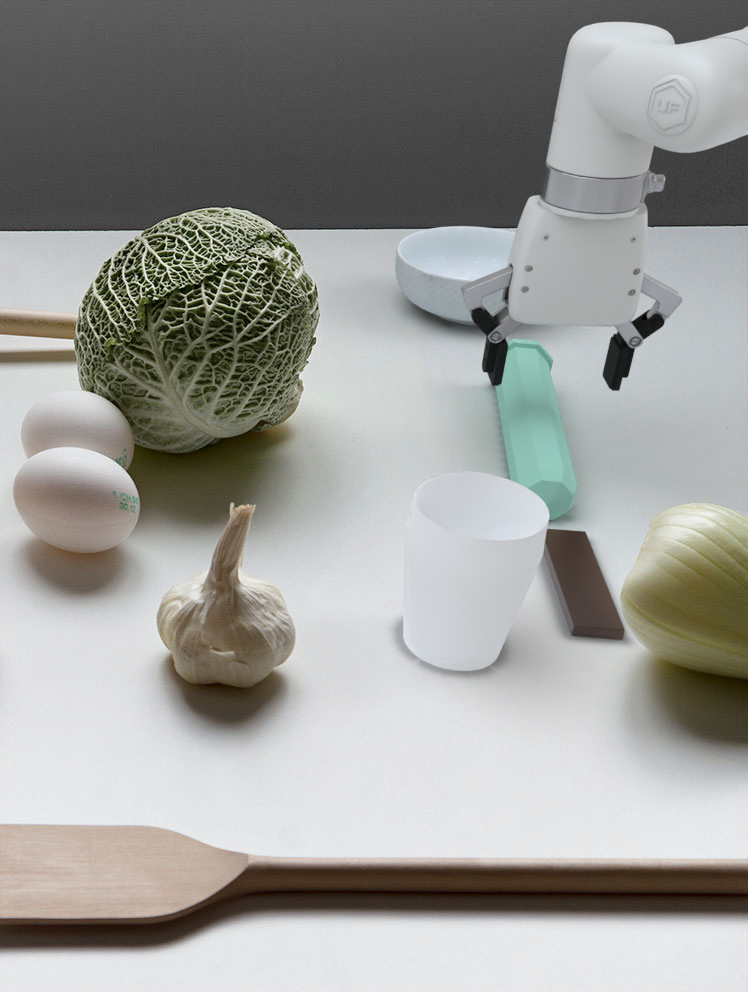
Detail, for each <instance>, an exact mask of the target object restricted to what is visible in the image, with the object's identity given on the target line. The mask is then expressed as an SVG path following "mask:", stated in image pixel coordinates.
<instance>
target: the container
mask: <svg viewBox="0 0 748 992" xmlns="http://www.w3.org/2000/svg"><path fill="white" fill-rule="evenodd" d="M507 343H508V351H507V357H506V362H505V367H504V373H503V378H502V383H501V385H500V384H499V386H494V387H495V394H496V399H497V405H498V413H499V418H500V424H501V431H502V438H503V444H504V450H505V454H506V462H507V469H508V475H509V480H511V481H514V482H516V483H518V484H520V485H523V486H524V487H526V488H528V489H530V490H531V491H533V492H534V493H535V494H537V495H538V496H539V497H540V498H541V499H542V500H543V501H544V503H545V504H546V506H547V508H548V510H549V521H553V520H555V519H558V518H559V517H561V516H562V515H564V514H566V513H568V512H570V511H571V509H572V508H573V506H574V502H575V499H576V495H577V492H578V489H579V485H578V481H577V477H576V473H575V469H574V464H573V461H572V456H571V452H570V448H569V444H568V440H567V434H566V430H565V427H564V422H563V419H562V415H561V410H560V406H559V402H558V398H557V394H556V390H555V386H554V380H553V377H552V373H551V372H552V367H553V364H554V358H553V356H552V355H551V354H550V353H549V352H548V350H546V348H545V347H544V346H543V345H542V343H540V341H539V340H533V339H521V338H512V339H510V340H508V341H507Z"/></svg>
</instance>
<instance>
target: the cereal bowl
mask: <svg viewBox="0 0 748 992" xmlns="http://www.w3.org/2000/svg"><path fill="white" fill-rule="evenodd" d="M515 233H516V231H509V230H505V229H499V228H494V227H485V226H468V225H457V226H456V225H455V226H454V225H453V226H440V227H434V228H433V227H432V228H427V229H422V230H419V231H416V232H413V233H412V234H409V235H407V236H405V237H404V238H403V239H401V241H399V243H398V245H397V247H396V250H395V258H394V259H395V260H394V269H395V278H396V282H397V284H398V286H399V289H400V290H401V292H402V293H403V294H404V297H405V298H407V299H408V300H409V301H410V302H411V303H412V304H414V305H416V306H417V307H418V308H420V309H422V310H424V311H426V312H429V313H430V314H432V315H435V316H437V317H438V318H441V319H442V320H444V321H445V320H446V321H448V322H451V323H455V324H460V325H466V326H477V325H476V324H475V323H474V322H473V320H472V318H471V315H470V313H469V310H468V308H467V305H466V303H465V300H464V298H463V295H462V293H461V287H462V286H463V285H465V284H467V283H470V282H472V281H475V280H477V279H479V278H482V277H484V276H487V275H489V274H492V273H494V272H497V271H499V270H501V269H504V268H506V266H507V262H508V258H509V255H510V251H511V247H512V244H513V240H514V236H515ZM482 304H483V306H484V308H485V309H486V310H487V311H488V312H489V313H490V314H491V315H492V314H494V313H495V312H496V311H497V310H498V309H499V308H501V307H502V306H503V305H504V304H505V302H502V298H501V290H500V291H497V292H495V293H492V294H490V295H487V296H485V297H484V298H483V299H482Z"/></svg>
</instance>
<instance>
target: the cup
mask: <svg viewBox="0 0 748 992" xmlns="http://www.w3.org/2000/svg"><path fill="white" fill-rule="evenodd" d="M549 521H550V520H549V510H548V508H547V506H546V504H545V503H544V501H543V500H542V499H541V498H540V497H539V496H538V495H537V494H535V493H534V492H533V491H531V490H530V489H528V488H526V487H524V486H523V485H520V484H518V483H516V482H514V481H511V480H510V479H508V478H505V477H502V476H498V475H494V474H490V473H485V472H476V471H451V472H444V473H439V474H436V475H433V476H430V477H428V478H426V479H424V480H423V481H422V482H420V483H419V484H418V486H417V487H416V489H415V491H414V494H413V499H412V503H411V507H410V509H409V515H408V518H407V521H406V524H405V528H404V544H403V545H404V547H403V549H404V550H403V553H404V554H403V611H402V612H403V614H402V615H403V617H402V619H403V620H402V621H403V622H402V637H403V641H404V643H405V645H406V647H407V648H408V650H410V652H411V653H412V654H413V655H414V656H416V657H417V658H418V659H420V660H422V661H424V662H425V663H427V664H430V665H431V666H434V667H436V668H440V669H444V670H448V671H454V672H474V671H478V670H482V669H485V668H487V667H489V666H491V665H492V664H494V663H495V662H496V661H497V659H498V657H499V655H500V654H501V651H502V649H503V646H504V644H505V642H506V640H507V638H508V636H509V633H510V631H511V629H512V627H513V625H514V622H515V620H516V618H517V616H518V613H519V611H520V609H521V608H522V604H523V603H524V601H525V598H526V596H527V594H528V592H529V589H530V587H531V585H532V584H533V581H534V578H535V576H536V575H537V572H538V570H539V567H540V565H541V563H542V560H543V557H544V554H543V552H544V544H545V538H546V532H547V529H548V527H549ZM418 649H419V650H418ZM421 651H422V652H421ZM424 653H425V654H424ZM426 654H427V655H426ZM428 655H429V656H428ZM433 657H434V658H433ZM435 658H436V659H435ZM438 659H440V660H438ZM441 660H444V661H441ZM445 661H447V662H445ZM449 662H450V663H449ZM451 662H452V663H451ZM455 663H456V664H455Z"/></svg>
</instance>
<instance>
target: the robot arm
mask: <svg viewBox="0 0 748 992" xmlns="http://www.w3.org/2000/svg"><path fill="white" fill-rule="evenodd" d="M569 40H570V41H569V43H568V45H567V48H566V53H565V58H564V63H563V69H562V74H561V80H560V85H559V90H558V95H557V101H556V106H555V111H554V116H553V121H552V128H551V133H550V139H549V145H548V149H547V155H546V161H545V165H544V170H543V176H542V179H541V186H540V191H539V195H536V194H535V195H532V196H529V197H528V199H527V201H526V203H525V205H524V208H523V210H522V213H521V215H520V218H519V221H518V223H517V224H518V225H517V226H516V227H517V228H516V230H515V236H514V240H513V244H512V247H511V251H510V255H509V258H508V262H507V266H506V268H504V269H501V270H499V271H497V272H494V273H492V274H489V275H487V276H484V277H482V278H479V279H477V280H475V281H472V282H470V283H467V284H465V285H463V286H462V287H461V293H462V295H463V298H464V300H465V303H466V305H467V308H468V310H469V313H470V315H471V318H472V320H473V322H474V323H475V324H476V325H475V326H477V327H478V328H479V329H480V331H481V332H482V333H483V334H484V335H485V336H486V338H485V343H484V348H483V355H482V361H481V371H482V372H483V373H487V376H488V379H489V381H490V384H491V386H492V387H495V386H499V384H500V385H501V383H502V378H503V373H504V367H505V362H506V357H507V351H508V343H507V342H508V341H507V339H506V338H507V337H508V336H509V335H510V334H512V333H513V332H514V331H515V330H516V329H517V328H519V327H520V326H521V325H522V324H526V325H539V326H562V327H563V326H564V327H565V326H566V327H567V326H569V327H599V328H600V327H601V328H602V327H603V328H605V327H606V328H607V327H610V328H611V327H614V328H615V329H616V331H617V332H616V333H613V335H612V336H611V337H610V339H609V344H608V349H607V353H606V357H605V361H604V366H603V369H602V378H603V379H604V381H605V384H606V385H607V387H608V389H609V390H611V391H613V392H619V391H620V389H621V385H622V381H623V379H627V378H629V375H630V372H631V367H632V363H633V359H634V355H635V352H636V351H635V350H636V349H637V348H639V347H641V346H642V344H643V343H644V340H645V339H647V338H649V337H650V336H652V335H653V334H654V333H656V332H657V331H659V330H661V328H663V327H664V325H665V321H666V320H668V319H669V318H670V317H671V316H672V315H673V313H674V312H675V311H676V310H677V308H679V306H680V305H681V304H682V302H683V298H682V295H680V293H679V292H678V291H677V290H676V289H674V288H672V287H670V286H669V285H667V284H665V283H663V282H661V281H660V280H657V279H656V278H654V277H652V276H650V275H648V274H647V273H645V263H646V255H647V254H646V253H647V245H648V244H647V243H648V227H649V223H648V222H649V221H648V220H649V219H648V217H649V216H648V214H649V213H648V207H647V205H646V203H645V199H646V197H647V195H648V194H652V193H654V192H656V193H657V192H658V193H659V192H663V190H664V188H665V185H666V176H665V174H659V173H658V174H657V173H655V172H651V171H652V170H650V165H651V161H652V155H653V151H654V148H655V147H656V148H660V149H662V150H665V151H669V152H673V153H679V154H681V153H682V154H691V153H698V152H702V151H703V152H704V151H706V150H709V149H712V148H713V149H714V148H715V147H718V146H721V145H724V144H727V143H729V142H732V141H734V140H737V139H739V138H742V137H744V136H747V135H748V25H747V26H745V27H744V28H742V29H739V30H734V31H731V32H727V33H723V34H719V35H715V36H712V37H708V38H705V39H701V40H695V41H690V42H685V43H679V44H678V43H677V44H676V43H675V39H674V37H673V35H672V34H671V33H670V32H669V31H668V30H666V29H664V28H662V27H659V26H657V25H653V24H648V23H642V22H631V21H604V22H595V23H592V24H588V25H585V26H582V27H581V28H580V29H578V30H577V31H576V32H575V33H574V34H573V35H572V37H571V38H570V39H569ZM500 290H501V298H502V302H505V304H504V305H503V306H502V307H501V308H499V309H498V310H497V311H496V312H495V313H494V314H492V315H491V314H490V313H489V312H488V311H487V310H486V309H485V308H484V306H483V304H482V299H483V298H484V297H485V296H487V295H490V294H492V293H495V292H497V291H500ZM641 293H642V294H643V295H646V296H648V297H649V298H651V299H653V300H654V301H655V302H654V303H653V305H652V306H651V308H650V309H648V310H646V311H644V312H643V313H642V314H640V315H639V316H638V317H636V318H635V319H633V318H634V317H635V314H636V312H637V309H638V305H639V302H640V298H641V297H640V296H641Z"/></svg>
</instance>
